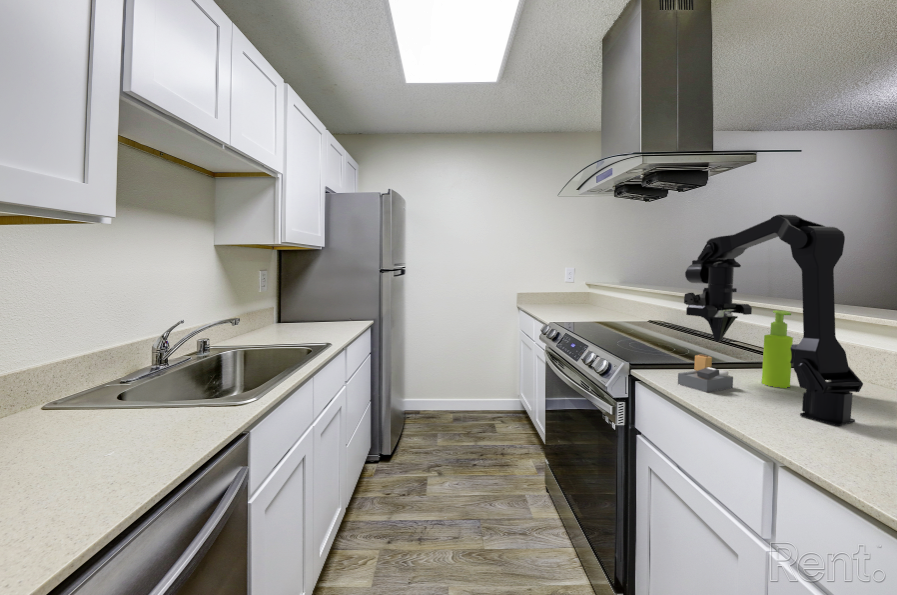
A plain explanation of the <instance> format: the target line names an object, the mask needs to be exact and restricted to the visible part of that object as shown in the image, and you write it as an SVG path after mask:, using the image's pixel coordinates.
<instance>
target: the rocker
mask: <svg viewBox="0 0 897 595" xmlns="http://www.w3.org/2000/svg"><path fill="white" fill-rule="evenodd" d="M719 370H720V369H717V368H713V367H711V368H710V367H707V368H704V369H701V370H699V371H697V376H698V377H702V378H706V379H711V378H713V377H716V376H718V375H719Z"/></svg>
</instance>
